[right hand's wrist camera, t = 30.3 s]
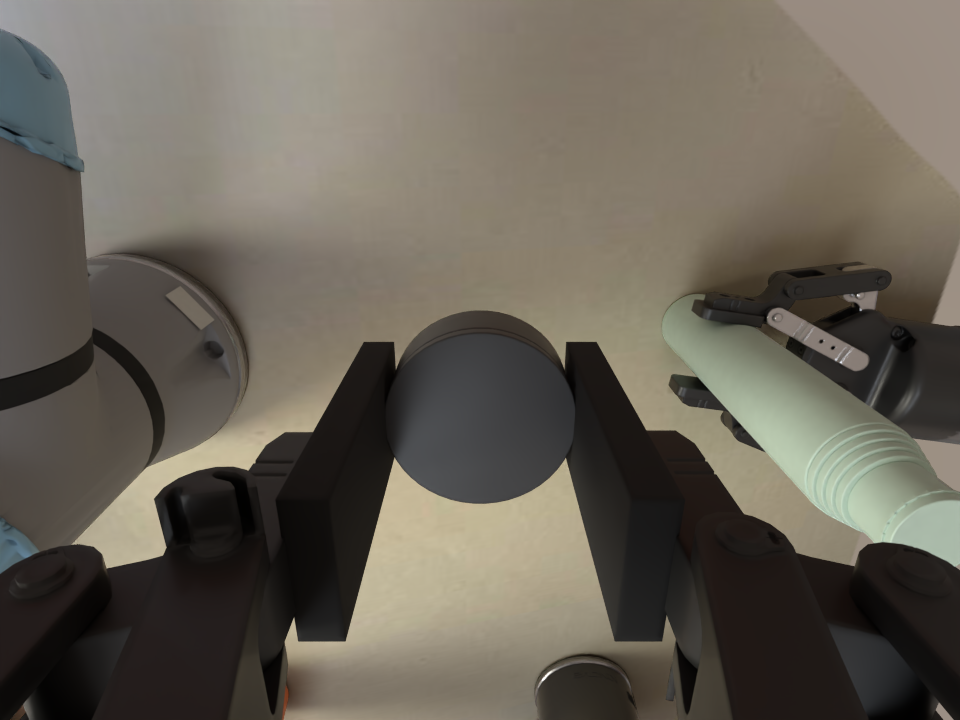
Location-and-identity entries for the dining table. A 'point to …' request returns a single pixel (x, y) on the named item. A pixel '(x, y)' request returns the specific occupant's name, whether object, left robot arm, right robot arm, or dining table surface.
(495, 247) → the dining table surface
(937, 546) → the bottle
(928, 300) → the dining table surface
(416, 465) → the cap
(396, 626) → the dining table surface
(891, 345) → the left robot arm
